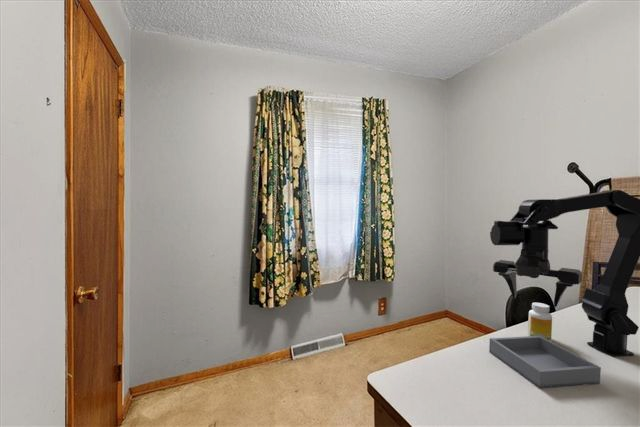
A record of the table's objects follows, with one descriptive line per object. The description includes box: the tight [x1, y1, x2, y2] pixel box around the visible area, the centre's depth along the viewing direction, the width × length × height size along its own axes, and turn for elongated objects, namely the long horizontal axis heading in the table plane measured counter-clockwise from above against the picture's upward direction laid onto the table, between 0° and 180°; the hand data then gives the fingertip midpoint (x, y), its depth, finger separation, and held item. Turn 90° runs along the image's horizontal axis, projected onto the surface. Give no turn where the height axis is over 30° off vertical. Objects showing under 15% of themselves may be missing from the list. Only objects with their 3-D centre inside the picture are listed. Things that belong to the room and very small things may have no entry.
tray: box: [488, 335, 602, 389], centre depth 67 cm, size 15×15×4 cm
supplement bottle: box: [527, 302, 553, 342], centre depth 82 cm, size 5×5×10 cm
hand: (534, 302), depth 78 cm, fingers open, 9 cm apart
